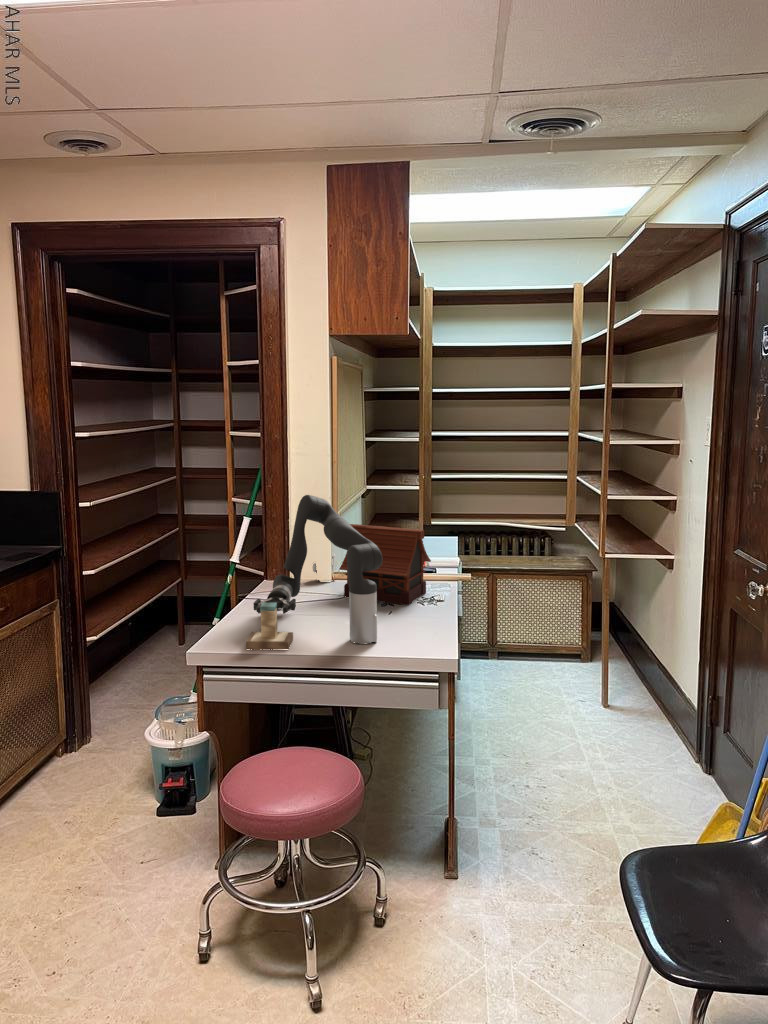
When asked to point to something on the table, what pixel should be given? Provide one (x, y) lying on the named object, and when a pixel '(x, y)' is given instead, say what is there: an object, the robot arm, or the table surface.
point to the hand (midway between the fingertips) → (271, 610)
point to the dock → (269, 641)
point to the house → (395, 563)
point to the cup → (332, 565)
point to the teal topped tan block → (268, 620)
